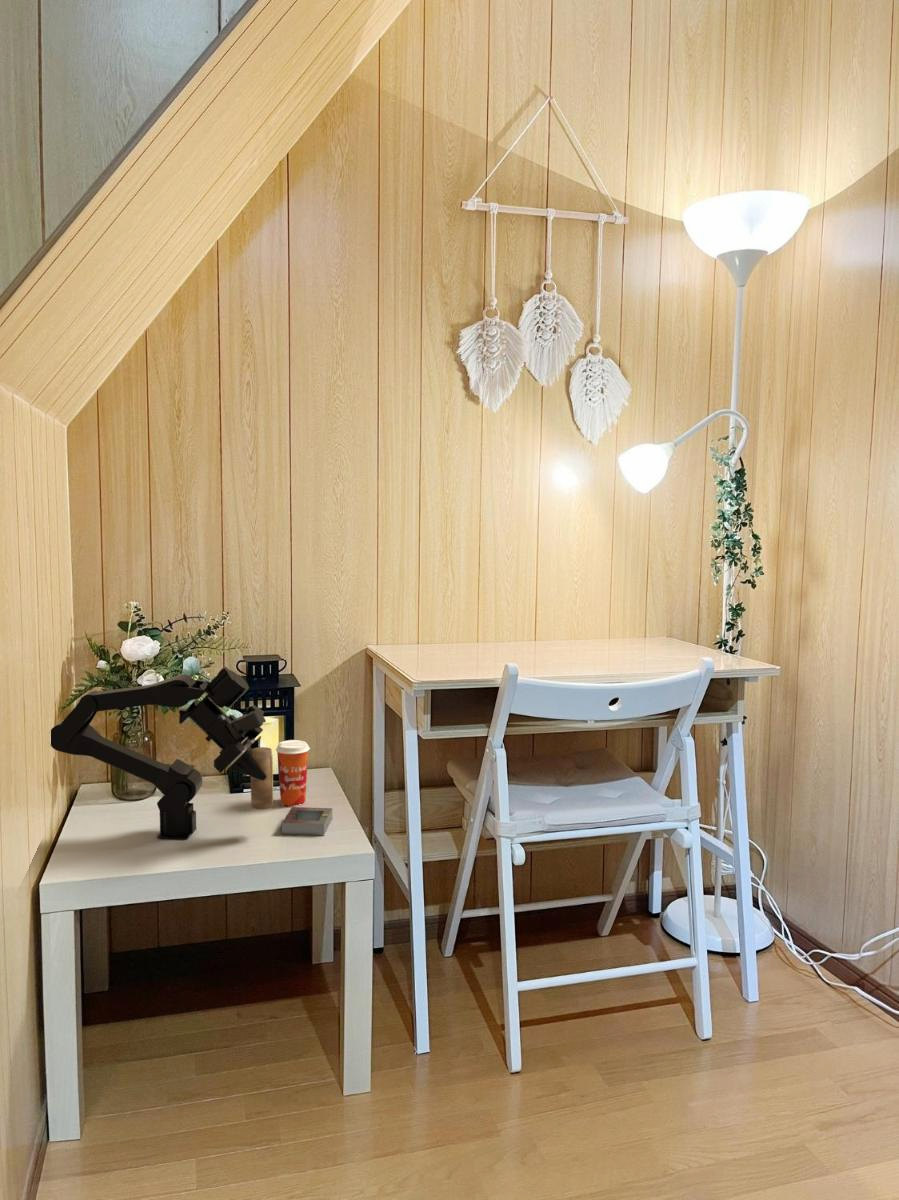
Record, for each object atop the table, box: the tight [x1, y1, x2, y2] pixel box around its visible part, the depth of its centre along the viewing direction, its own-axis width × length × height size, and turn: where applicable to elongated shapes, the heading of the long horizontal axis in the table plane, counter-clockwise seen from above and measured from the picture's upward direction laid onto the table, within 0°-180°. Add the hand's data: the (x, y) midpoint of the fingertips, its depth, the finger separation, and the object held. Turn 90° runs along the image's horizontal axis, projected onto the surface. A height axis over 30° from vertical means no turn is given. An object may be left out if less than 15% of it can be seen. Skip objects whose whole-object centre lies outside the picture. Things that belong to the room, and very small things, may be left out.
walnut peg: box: [250, 746, 274, 810], centre depth 197 cm, size 4×4×12 cm
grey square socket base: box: [281, 806, 333, 836], centre depth 204 cm, size 9×10×3 cm
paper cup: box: [275, 739, 311, 807], centre depth 219 cm, size 8×8×14 cm
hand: (267, 775), depth 197 cm, fingers closed on walnut peg, 4 cm apart
